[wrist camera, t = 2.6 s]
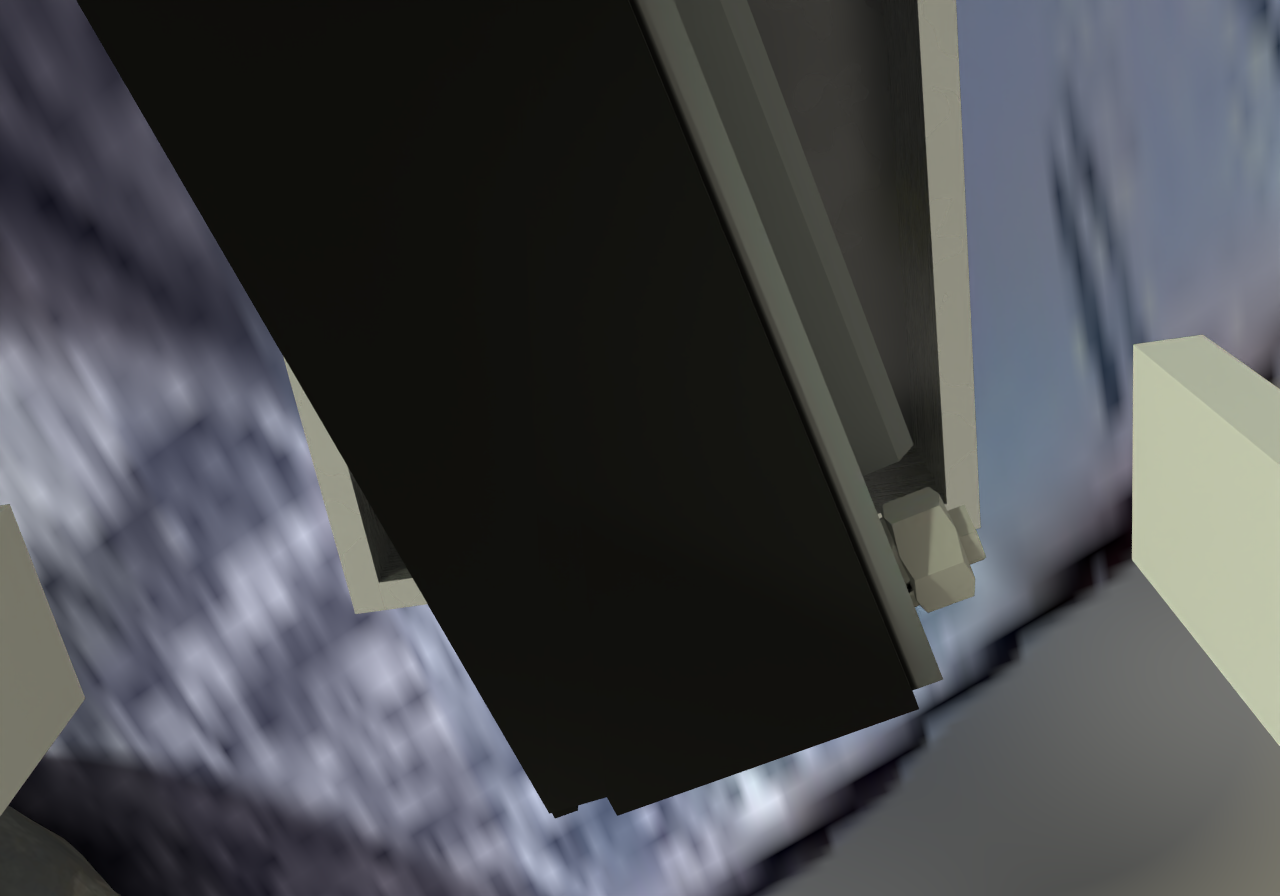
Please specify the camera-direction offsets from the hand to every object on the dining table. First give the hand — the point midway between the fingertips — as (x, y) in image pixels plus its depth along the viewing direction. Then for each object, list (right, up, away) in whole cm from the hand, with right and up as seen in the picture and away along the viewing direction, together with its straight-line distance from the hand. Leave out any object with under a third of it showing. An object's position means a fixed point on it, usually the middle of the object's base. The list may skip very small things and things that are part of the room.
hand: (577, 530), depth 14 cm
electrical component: (0, +10, +24) cm, 26 cm away
